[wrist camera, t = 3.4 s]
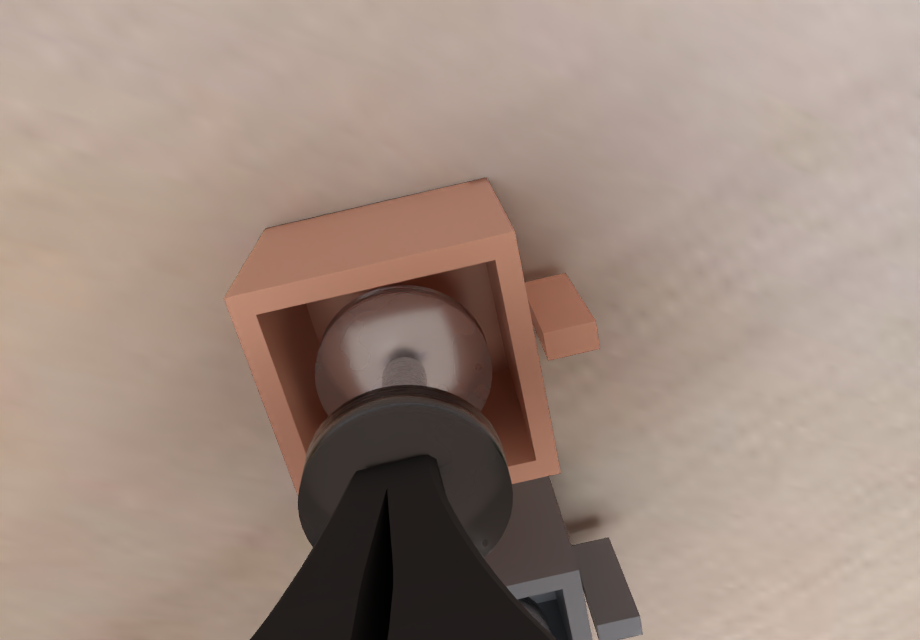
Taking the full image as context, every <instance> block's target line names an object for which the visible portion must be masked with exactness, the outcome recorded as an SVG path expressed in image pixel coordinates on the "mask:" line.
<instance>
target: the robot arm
mask: <svg viewBox="0 0 920 640" xmlns="http://www.w3.org/2000/svg"><path fill="white" fill-rule="evenodd" d="M250 640H557V639H556V638H555V637H554V636H553V635H552V634H551V633H550V632H549V631H548V630H547V629H545V628H544V627H543V626H542V625H541V624H540V623H539V622H538V621H537V620H536V619H535V618H534V617H533V616H532V615H531V614H530V613H529V612H528V611H527V610H526V609H525V607H524V606H523V605H522V604H521V603H520V602H519V601H518V600H517V599H516V598H515V597H514V595H513V594H512V593H511V592H510V591H509V590H508V588H507V587H506V586H505V585H504V584H503V583H502V581H501V580H500V579H499V578H498V576H497V575H496V574H495V573H494V571H493V570H492V569H491V567H490V566H489V565H488V563H487V562H486V561H485V559H484V558H483V556H482V555H481V554H480V552H479V551H478V549H477V548H476V546H475V545H474V544H473V542H472V540H471V539H470V537H469V536H468V534H467V533H466V531H465V529H464V528H463V526H462V524H461V522H460V521H459V519H458V517H457V516H456V514H455V512H454V510H453V508H452V506H451V504H450V503H449V501H448V498H447V496H446V492H445V489H444V485H443V481H442V478H441V474H440V470H439V467H438V463H437V459H435V458H434V457H432V456H430V455H424V456H420V457H415V458H411V459H407V460H402V461H398V462H393V463H389V464H384V465H380V466H376V467H371V468H367V469H362V470H358V471H356V472H355V474H354V475H353V477H352V478H351V480H350V482H349V484H348V486H347V487H346V489H345V491H344V493H343V495H342V497H341V499H340V501H339V503H338V505H337V506H336V508H335V510H334V512H333V514H332V516H331V517H330V519H329V521H328V523H327V525H326V526H325V528H324V530H323V532H322V533H321V535H320V537H319V538H318V540H317V542H316V544H315V545H314V547H313V549H312V550H311V552H310V554H309V555H308V557H307V559H306V561H305V562H304V564H303V565H302V567H301V569H300V570H299V572H298V573H297V575H296V576H295V578H294V579H293V581H292V582H291V584H290V585H289V587H288V588H287V590H286V591H285V593H284V594H283V596H282V597H281V599H280V600H279V602H278V603H277V605H276V606H275V607H274V609H273V610H272V612H271V613H270V614H269V616H268V617H267V618H266V620H265V621H264V623H263V624H262V625H261V626H260V628H259V629H258V630H257V632H256V633H255V634H254V635H253V637H252V638H251V639H250Z"/></svg>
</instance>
